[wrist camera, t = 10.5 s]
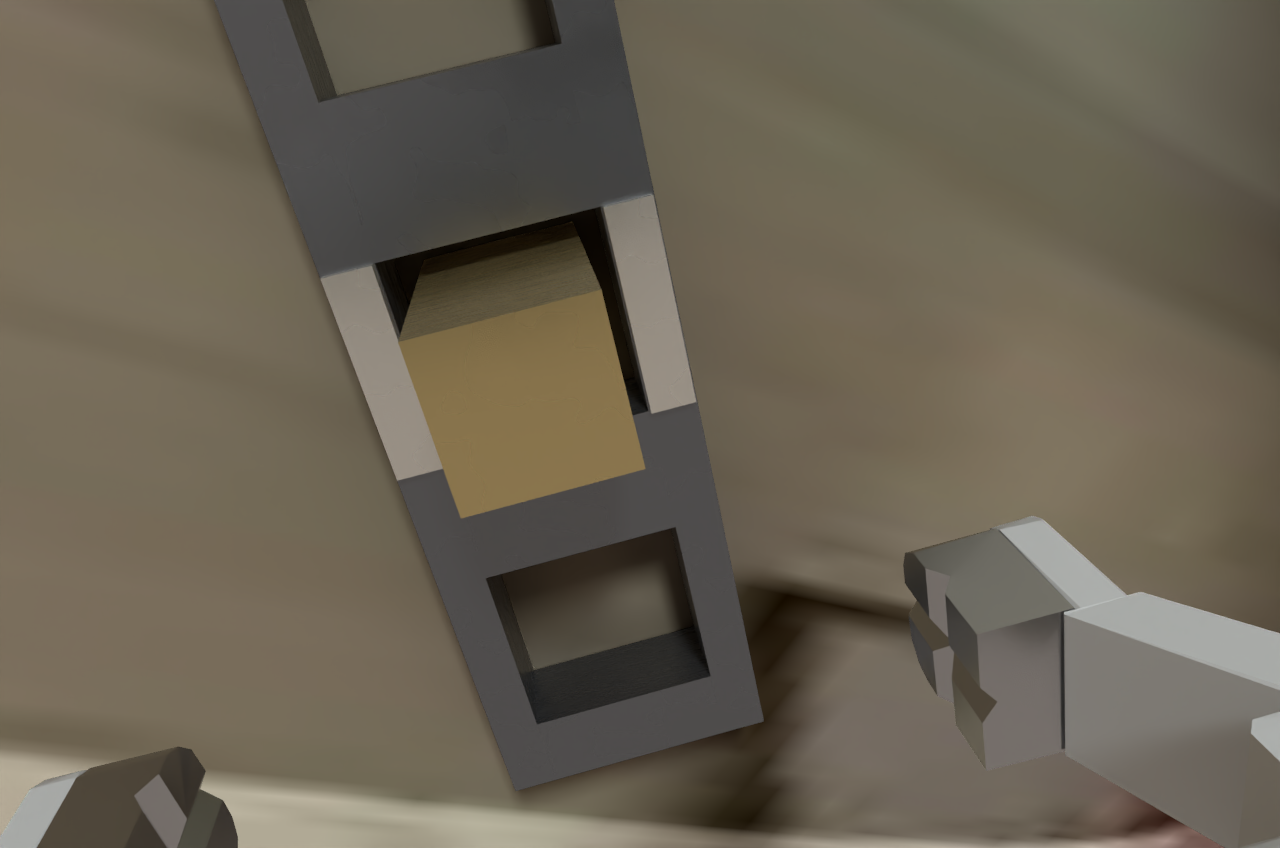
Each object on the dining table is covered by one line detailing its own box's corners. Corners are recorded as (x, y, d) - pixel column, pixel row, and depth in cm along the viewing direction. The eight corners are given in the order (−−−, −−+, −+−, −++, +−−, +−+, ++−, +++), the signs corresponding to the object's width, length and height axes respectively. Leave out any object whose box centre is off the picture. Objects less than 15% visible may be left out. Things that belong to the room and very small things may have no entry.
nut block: (572, 221, 24) (600, 289, 17) (607, 359, 25) (645, 468, 19) (424, 259, 23) (398, 341, 17) (469, 396, 25) (460, 518, 19)
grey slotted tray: (522, -367, 19) (526, -427, 16) (743, 669, 30) (765, 725, 28) (139, -282, 18) (84, -331, 16) (513, 733, 30) (515, 796, 27)
